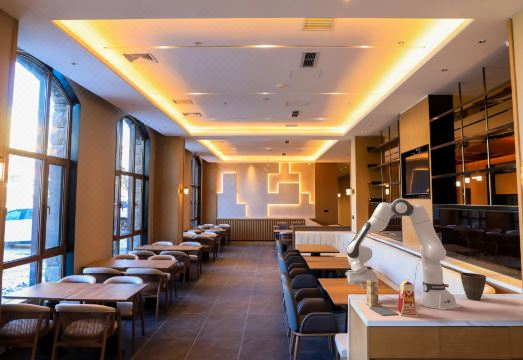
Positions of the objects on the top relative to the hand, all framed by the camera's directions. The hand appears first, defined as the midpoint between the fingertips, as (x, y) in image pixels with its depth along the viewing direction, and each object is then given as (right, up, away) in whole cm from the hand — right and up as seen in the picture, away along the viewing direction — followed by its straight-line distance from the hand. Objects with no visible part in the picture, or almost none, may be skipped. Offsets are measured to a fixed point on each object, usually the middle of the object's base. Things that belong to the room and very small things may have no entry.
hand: (366, 289), depth 220 cm
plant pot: (+75, -11, +11) cm, 77 cm away
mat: (+4, -7, -19) cm, 21 cm away
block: (+1, -8, -8) cm, 11 cm away
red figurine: (+16, -7, -23) cm, 29 cm away
